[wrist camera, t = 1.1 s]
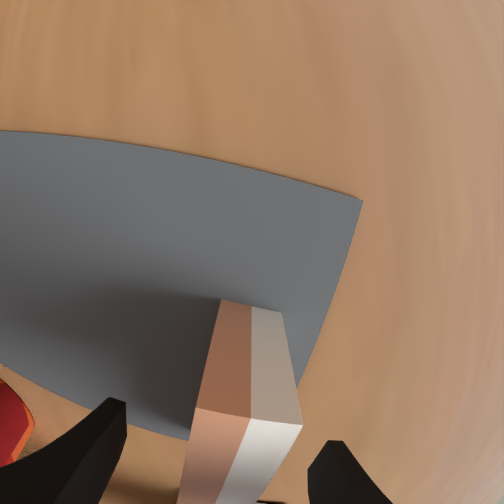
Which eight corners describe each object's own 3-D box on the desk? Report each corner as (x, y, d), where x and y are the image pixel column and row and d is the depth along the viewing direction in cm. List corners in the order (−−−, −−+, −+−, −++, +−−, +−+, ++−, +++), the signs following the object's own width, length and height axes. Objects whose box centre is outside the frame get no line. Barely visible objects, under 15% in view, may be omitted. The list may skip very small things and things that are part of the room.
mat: (264, 449, 14) (264, 454, 14) (-20, 345, 13) (-23, 347, 13) (359, 199, 11) (363, 200, 11) (-25, 130, 10) (-29, 130, 9)
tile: (236, 439, 14) (232, 535, 8) (192, 430, 13) (172, 525, 8) (281, 312, 12) (303, 424, 6) (221, 299, 11) (195, 407, 6)
